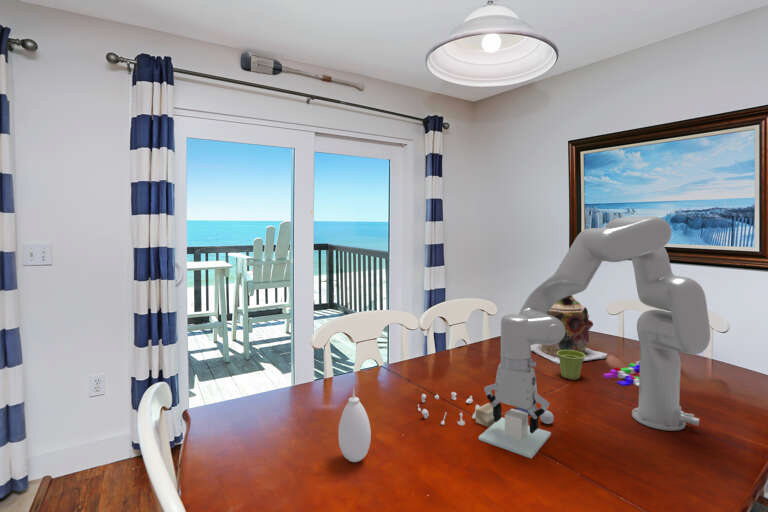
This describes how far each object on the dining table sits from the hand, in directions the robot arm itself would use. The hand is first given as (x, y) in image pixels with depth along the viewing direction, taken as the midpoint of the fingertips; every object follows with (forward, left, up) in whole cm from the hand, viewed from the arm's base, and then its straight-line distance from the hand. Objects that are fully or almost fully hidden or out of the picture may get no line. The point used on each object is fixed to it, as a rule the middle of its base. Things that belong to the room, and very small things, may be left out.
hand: (515, 425), depth 108 cm
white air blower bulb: (+26, +34, -4) cm, 43 cm away
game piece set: (+22, -3, -4) cm, 23 cm away
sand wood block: (+10, -4, -4) cm, 11 cm away
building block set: (-20, -68, -4) cm, 71 cm away
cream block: (0, -1, -2) cm, 3 cm away
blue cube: (+4, -16, -3) cm, 17 cm away
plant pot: (+1, -54, -4) cm, 54 cm away
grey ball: (-4, -13, -2) cm, 14 cm away
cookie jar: (+11, -81, -4) cm, 82 cm away
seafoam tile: (0, 0, -3) cm, 3 cm away
